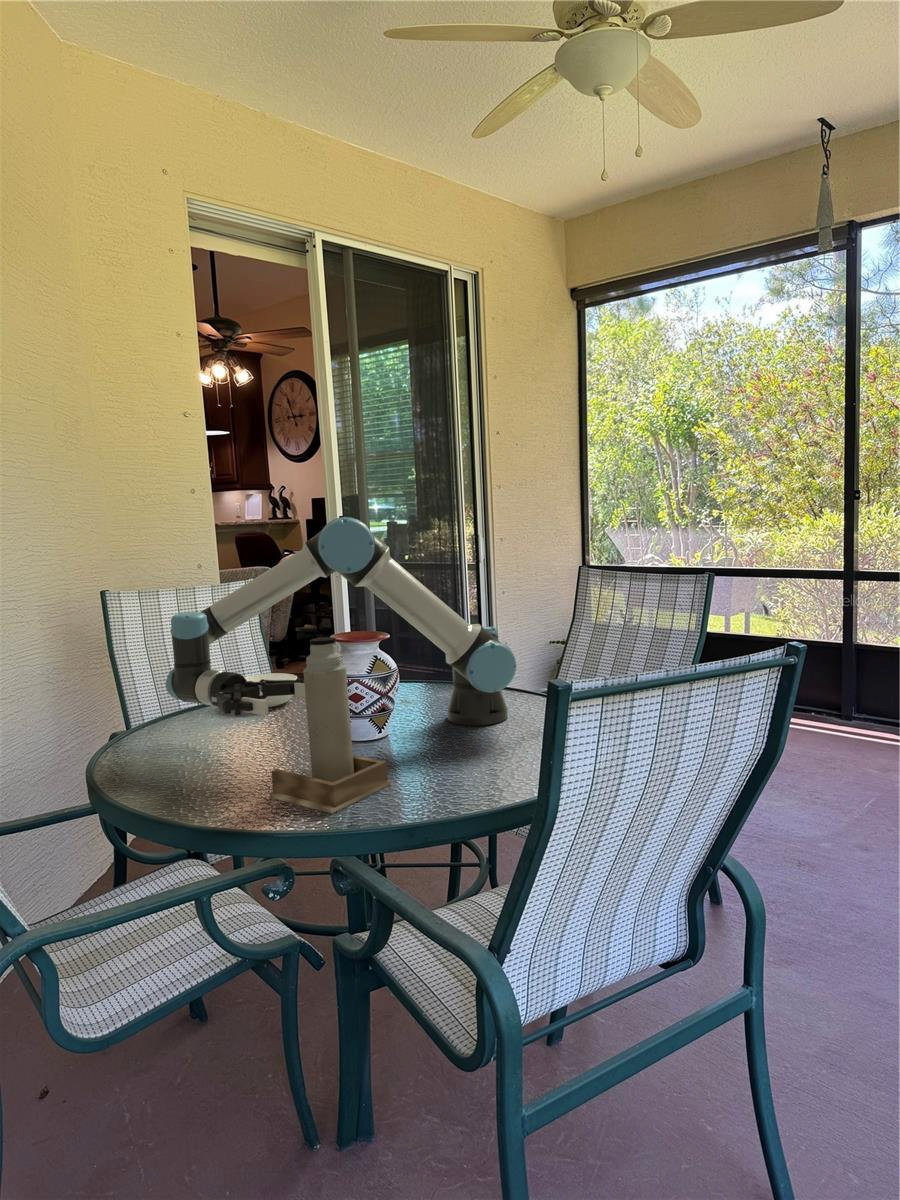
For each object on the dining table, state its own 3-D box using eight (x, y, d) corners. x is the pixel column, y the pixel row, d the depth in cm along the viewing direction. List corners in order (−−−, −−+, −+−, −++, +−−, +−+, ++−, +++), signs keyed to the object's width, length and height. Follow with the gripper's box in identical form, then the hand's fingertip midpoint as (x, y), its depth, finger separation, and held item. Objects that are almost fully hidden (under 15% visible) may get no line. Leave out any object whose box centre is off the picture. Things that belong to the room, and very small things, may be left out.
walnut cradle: (269, 797, 140) (268, 772, 139) (330, 771, 153) (328, 748, 152) (332, 813, 130) (330, 787, 130) (390, 784, 143) (389, 760, 143)
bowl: (258, 695, 224) (256, 672, 223) (311, 698, 217) (309, 674, 217) (219, 711, 207) (217, 685, 206) (275, 715, 200) (273, 688, 200)
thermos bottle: (305, 783, 144) (293, 639, 142) (341, 772, 149) (329, 633, 147) (326, 792, 138) (313, 642, 135) (362, 781, 143) (351, 636, 140)
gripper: (269, 694, 168) (339, 704, 155) (172, 721, 147) (243, 735, 135) (267, 661, 167) (337, 668, 155) (169, 684, 147) (240, 694, 134)
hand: (293, 700), depth 145 cm, fingers open, 13 cm apart
